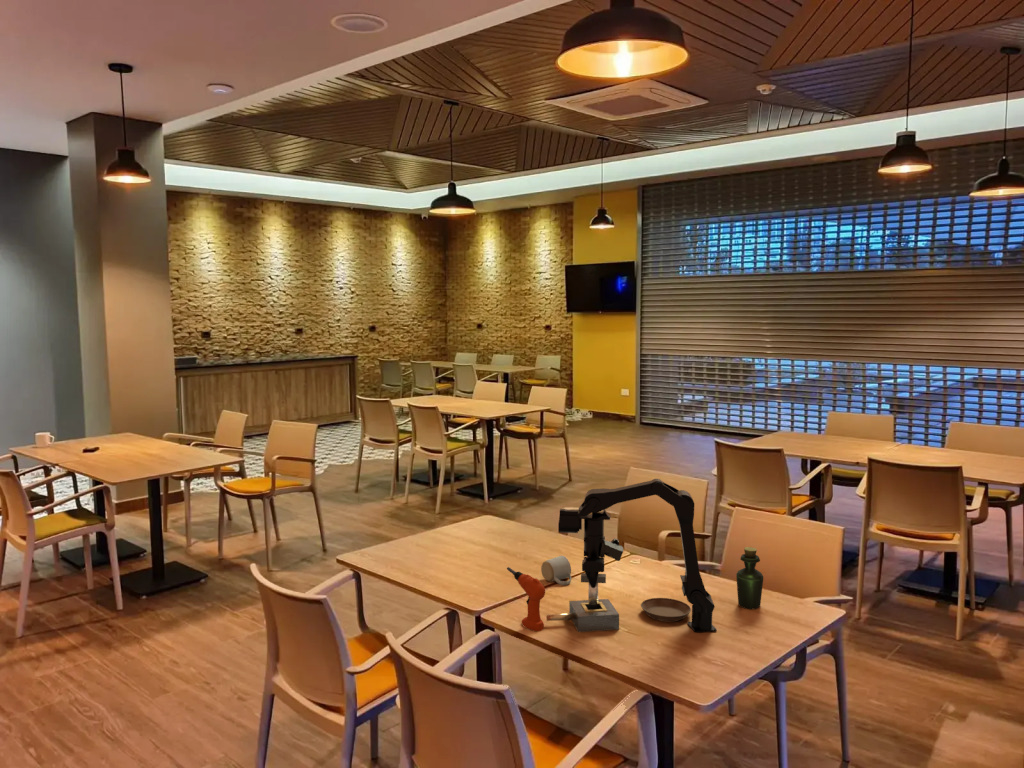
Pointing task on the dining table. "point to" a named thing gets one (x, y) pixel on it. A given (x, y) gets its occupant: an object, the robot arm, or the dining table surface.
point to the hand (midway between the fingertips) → (593, 585)
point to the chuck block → (590, 616)
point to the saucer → (665, 609)
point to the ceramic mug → (557, 570)
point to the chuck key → (593, 591)
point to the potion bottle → (749, 580)
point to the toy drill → (531, 599)
